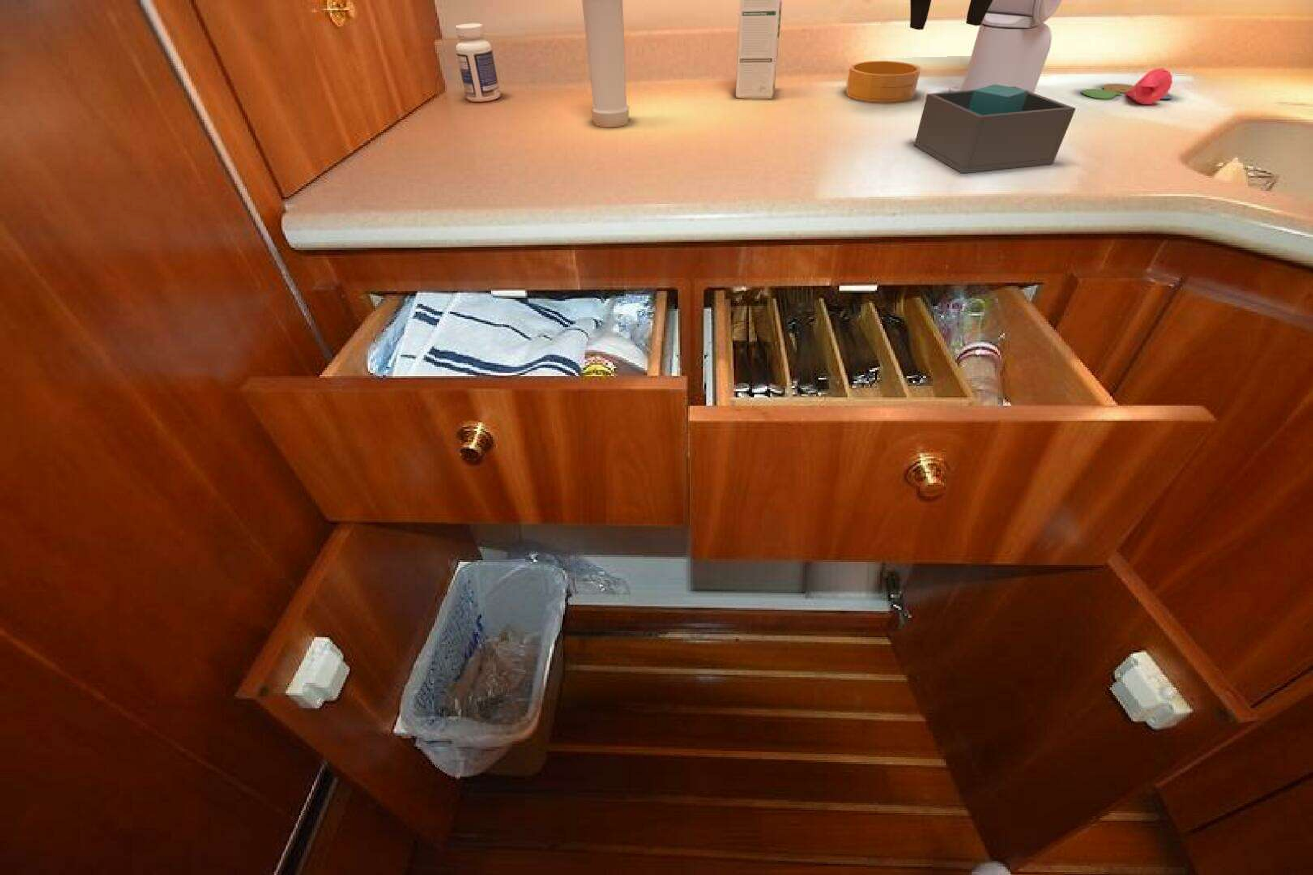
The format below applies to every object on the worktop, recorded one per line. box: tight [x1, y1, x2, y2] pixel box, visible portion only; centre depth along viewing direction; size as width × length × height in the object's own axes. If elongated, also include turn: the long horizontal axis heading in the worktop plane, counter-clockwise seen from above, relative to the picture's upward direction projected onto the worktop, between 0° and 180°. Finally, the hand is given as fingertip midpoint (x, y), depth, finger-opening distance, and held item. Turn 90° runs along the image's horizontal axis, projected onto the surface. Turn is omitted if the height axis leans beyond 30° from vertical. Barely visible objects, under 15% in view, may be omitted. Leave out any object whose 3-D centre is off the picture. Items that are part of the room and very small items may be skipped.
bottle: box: [581, 0, 630, 128], centre depth 74 cm, size 5×5×25 cm
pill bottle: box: [455, 22, 501, 103], centre depth 91 cm, size 5×5×10 cm
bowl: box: [845, 60, 922, 104], centre depth 88 cm, size 10×10×4 cm
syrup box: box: [735, 0, 783, 100], centre depth 87 cm, size 6×6×14 cm
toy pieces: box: [1080, 67, 1173, 105], centre depth 84 cm, size 12×11×4 cm
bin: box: [913, 86, 1077, 174], centre depth 66 cm, size 11×10×6 cm
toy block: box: [968, 84, 1028, 115], centre depth 66 cm, size 4×4×6 cm
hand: (944, 26), depth 72 cm, fingers open, 7 cm apart
